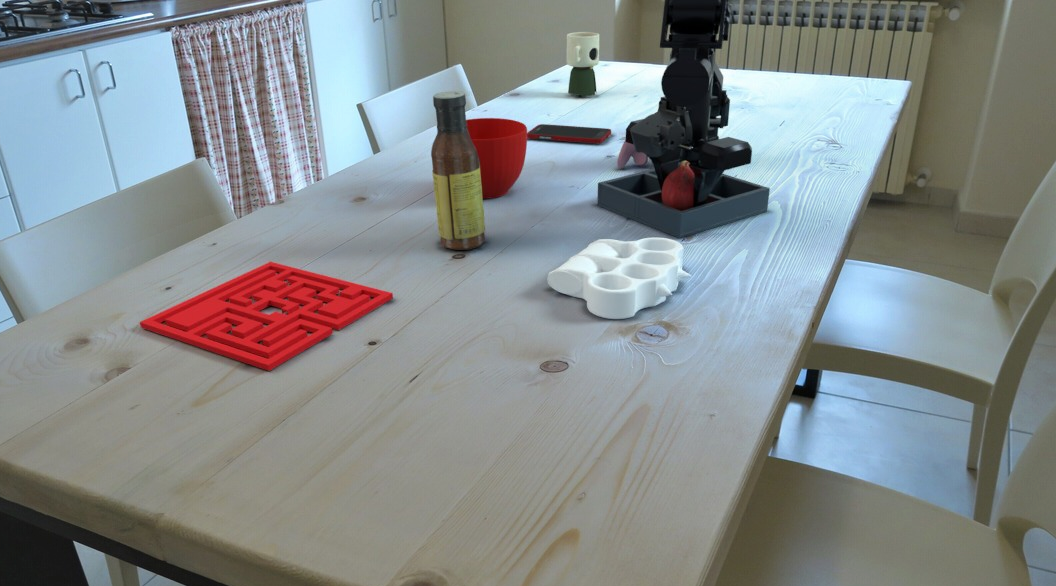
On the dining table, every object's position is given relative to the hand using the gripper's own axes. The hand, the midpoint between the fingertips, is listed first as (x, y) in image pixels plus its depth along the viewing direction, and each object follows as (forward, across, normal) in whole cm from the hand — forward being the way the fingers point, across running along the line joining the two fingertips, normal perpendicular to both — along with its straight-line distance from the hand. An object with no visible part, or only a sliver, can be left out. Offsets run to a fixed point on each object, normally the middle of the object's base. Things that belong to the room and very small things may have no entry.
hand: (681, 203), depth 124 cm
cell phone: (+3, -46, +16) cm, 49 cm away
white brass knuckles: (+3, +12, -21) cm, 24 cm away
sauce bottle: (+3, -12, -29) cm, 32 cm away
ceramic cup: (+3, -28, -16) cm, 32 cm away
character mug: (+3, -72, +40) cm, 83 cm away
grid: (+3, -4, +4) cm, 6 cm away
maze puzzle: (+3, -7, -58) cm, 58 cm away
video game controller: (+3, -22, +14) cm, 26 cm away
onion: (+2, 0, 0) cm, 2 cm away
